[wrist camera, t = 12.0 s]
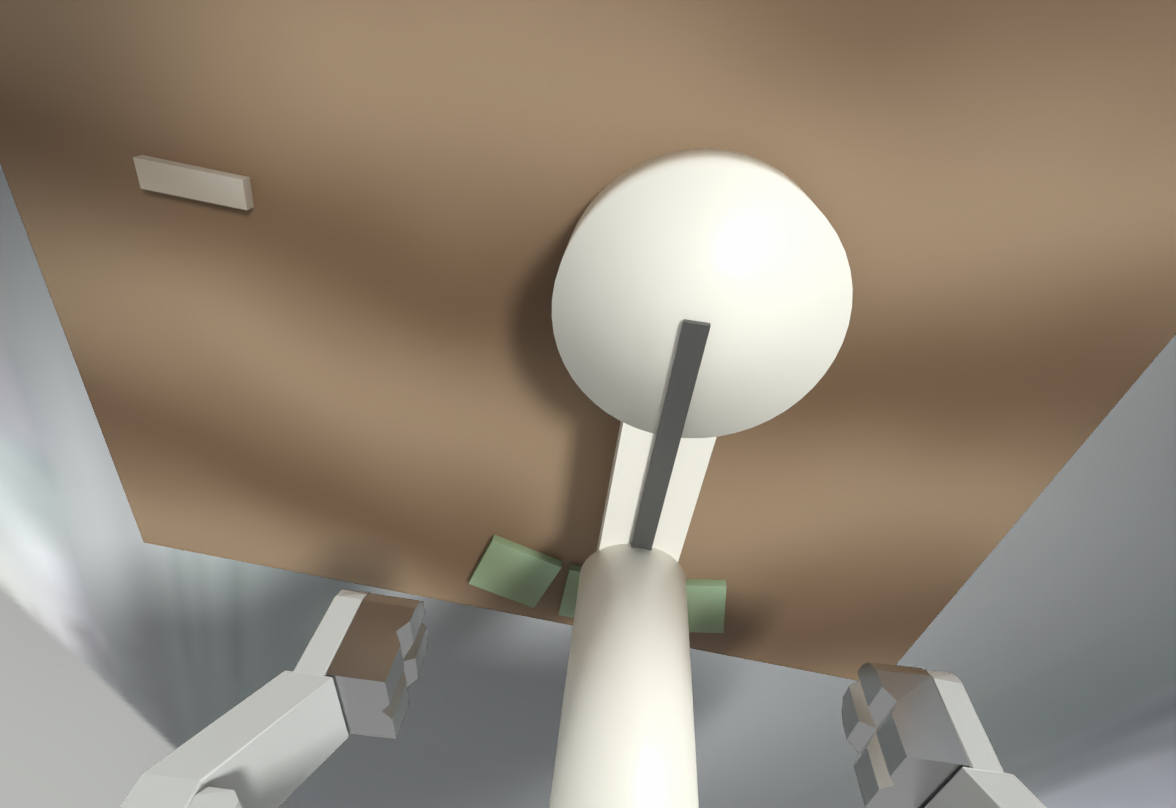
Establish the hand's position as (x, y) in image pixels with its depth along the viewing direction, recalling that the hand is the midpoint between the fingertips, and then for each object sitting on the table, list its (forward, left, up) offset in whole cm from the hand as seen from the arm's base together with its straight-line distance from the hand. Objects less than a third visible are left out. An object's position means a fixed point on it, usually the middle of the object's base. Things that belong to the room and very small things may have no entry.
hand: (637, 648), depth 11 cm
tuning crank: (-3, 0, -3) cm, 4 cm away
